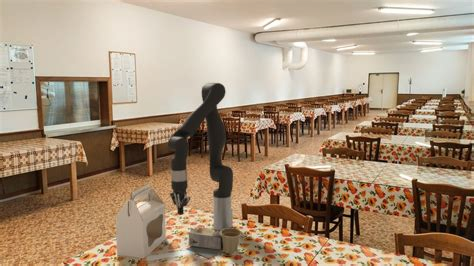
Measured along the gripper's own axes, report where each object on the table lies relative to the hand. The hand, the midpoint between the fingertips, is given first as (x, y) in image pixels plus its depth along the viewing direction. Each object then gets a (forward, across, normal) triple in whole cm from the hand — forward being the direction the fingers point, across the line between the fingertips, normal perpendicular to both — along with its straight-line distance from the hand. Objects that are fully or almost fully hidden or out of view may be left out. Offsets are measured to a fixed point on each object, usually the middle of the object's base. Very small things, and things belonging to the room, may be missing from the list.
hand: (180, 214), depth 175 cm
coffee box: (+10, -6, -1) cm, 11 cm away
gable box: (+13, +8, +16) cm, 22 cm away
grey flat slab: (+13, -16, 0) cm, 21 cm away
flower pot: (+13, -25, -8) cm, 29 cm away
